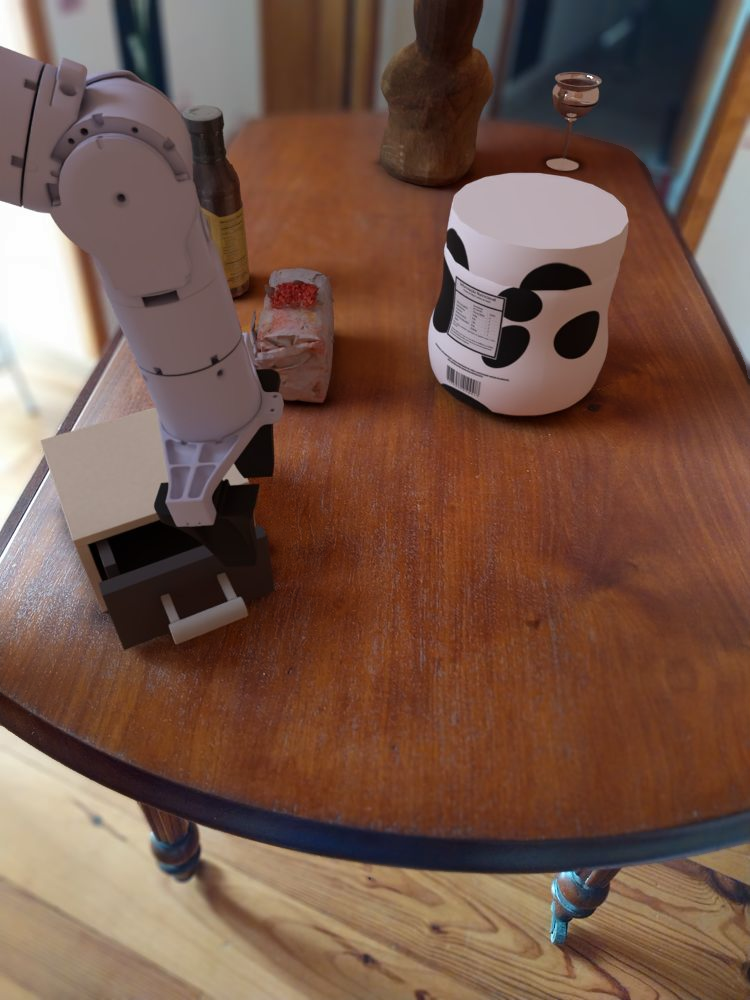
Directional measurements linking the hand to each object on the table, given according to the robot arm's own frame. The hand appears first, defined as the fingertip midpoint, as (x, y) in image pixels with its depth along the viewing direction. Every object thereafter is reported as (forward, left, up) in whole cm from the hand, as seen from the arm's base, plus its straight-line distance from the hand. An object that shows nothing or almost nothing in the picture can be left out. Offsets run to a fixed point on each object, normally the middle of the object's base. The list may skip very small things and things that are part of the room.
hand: (250, 515), depth 49 cm
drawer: (-6, -1, -9) cm, 11 cm away
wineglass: (-6, +93, -11) cm, 94 cm away
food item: (-14, +27, -11) cm, 32 cm away
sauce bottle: (-30, +37, -11) cm, 49 cm away
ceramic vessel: (-22, +79, -11) cm, 83 cm away
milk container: (+6, +36, -11) cm, 38 cm away
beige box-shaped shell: (-12, +3, -10) cm, 16 cm away
